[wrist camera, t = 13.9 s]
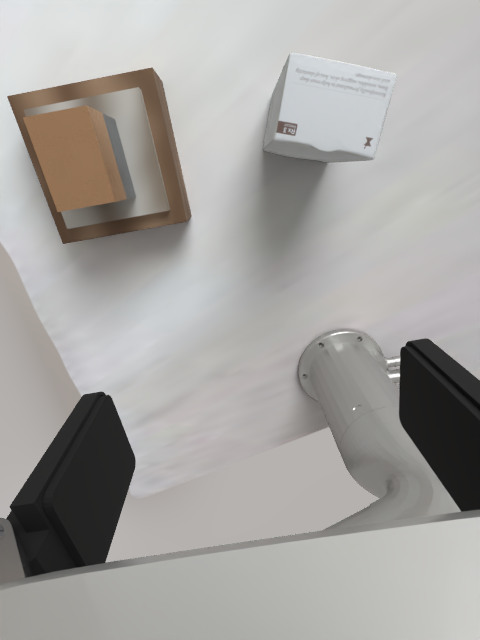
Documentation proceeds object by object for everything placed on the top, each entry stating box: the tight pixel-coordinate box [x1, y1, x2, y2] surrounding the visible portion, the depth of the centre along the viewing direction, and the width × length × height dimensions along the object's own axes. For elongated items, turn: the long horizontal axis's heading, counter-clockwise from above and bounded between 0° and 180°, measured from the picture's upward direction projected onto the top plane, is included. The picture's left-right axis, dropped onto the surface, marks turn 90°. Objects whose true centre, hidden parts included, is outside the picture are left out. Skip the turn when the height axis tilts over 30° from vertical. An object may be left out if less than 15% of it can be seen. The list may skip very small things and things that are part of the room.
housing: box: [23, 105, 136, 212], centre depth 30 cm, size 5×7×7 cm
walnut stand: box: [7, 68, 191, 244], centre depth 36 cm, size 14×14×6 cm
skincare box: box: [263, 52, 397, 163], centre depth 31 cm, size 8×6×15 cm
